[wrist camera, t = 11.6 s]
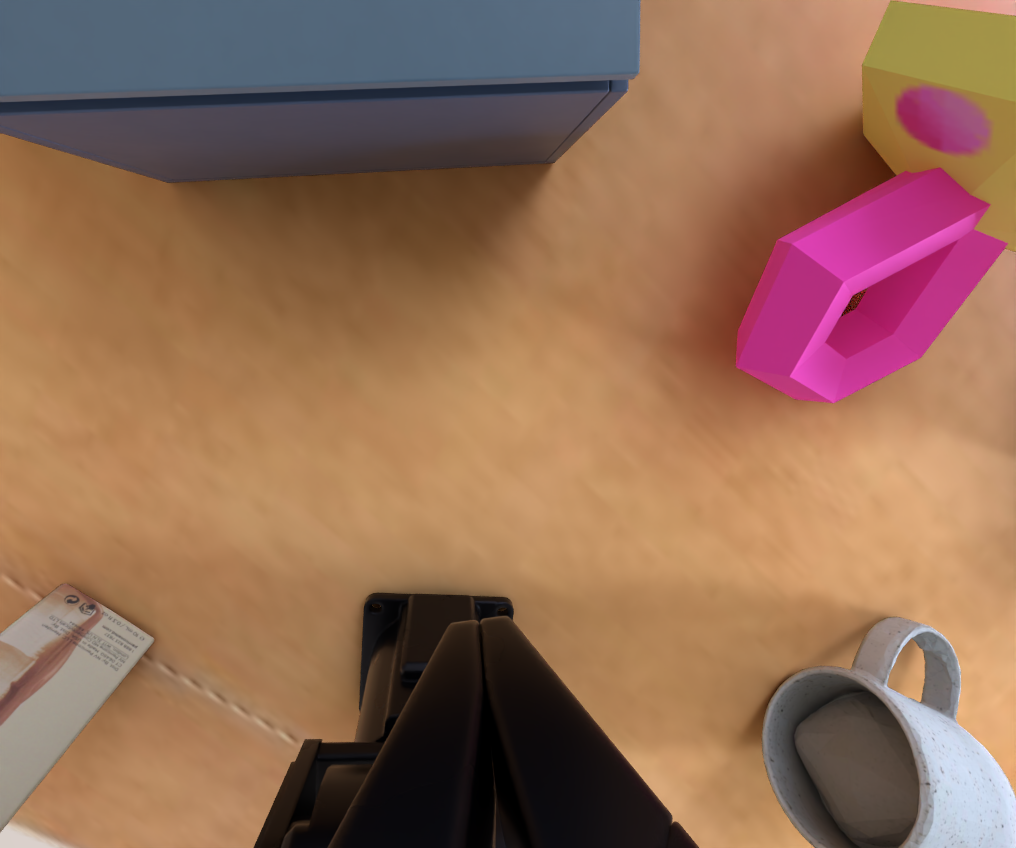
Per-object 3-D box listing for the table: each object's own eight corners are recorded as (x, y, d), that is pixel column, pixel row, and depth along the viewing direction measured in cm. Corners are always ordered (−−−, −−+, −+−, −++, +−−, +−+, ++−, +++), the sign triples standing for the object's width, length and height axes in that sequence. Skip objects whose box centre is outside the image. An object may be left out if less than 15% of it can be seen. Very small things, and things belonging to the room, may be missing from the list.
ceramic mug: (842, 774, 29) (978, 945, 21) (735, 739, 27) (844, 914, 19) (959, 634, 27) (1154, 770, 19) (851, 584, 25) (1023, 715, 17)
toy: (619, 268, 19) (809, 461, 12) (1145, -428, 11) (2693, -1063, 4) (748, 346, 25) (925, 507, 18) (1154, -65, 17) (1773, -58, 10)
